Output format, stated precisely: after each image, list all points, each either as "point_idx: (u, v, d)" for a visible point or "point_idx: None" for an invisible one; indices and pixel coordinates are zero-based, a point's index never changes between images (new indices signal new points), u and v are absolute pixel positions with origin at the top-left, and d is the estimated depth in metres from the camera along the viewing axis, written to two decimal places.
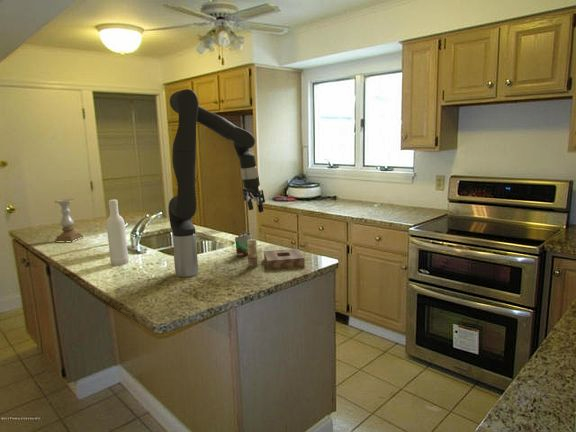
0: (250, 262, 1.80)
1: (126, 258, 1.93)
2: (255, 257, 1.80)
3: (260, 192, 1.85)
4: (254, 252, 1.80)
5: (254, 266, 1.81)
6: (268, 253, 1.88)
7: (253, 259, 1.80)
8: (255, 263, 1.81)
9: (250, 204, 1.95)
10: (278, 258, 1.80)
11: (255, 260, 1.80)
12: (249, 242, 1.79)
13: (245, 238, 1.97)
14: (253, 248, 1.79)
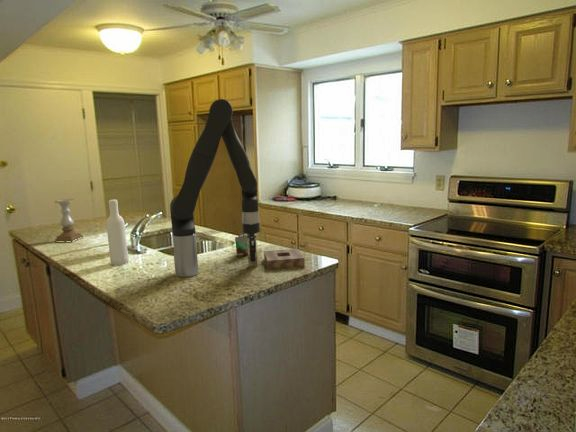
0: (250, 262, 1.80)
1: (126, 258, 1.93)
2: (255, 257, 1.80)
3: (252, 243, 1.74)
4: None
5: (254, 266, 1.81)
6: (268, 253, 1.88)
7: None
8: (255, 263, 1.81)
9: None
10: (278, 258, 1.80)
11: None
12: None
13: (245, 238, 1.97)
14: (253, 248, 1.79)
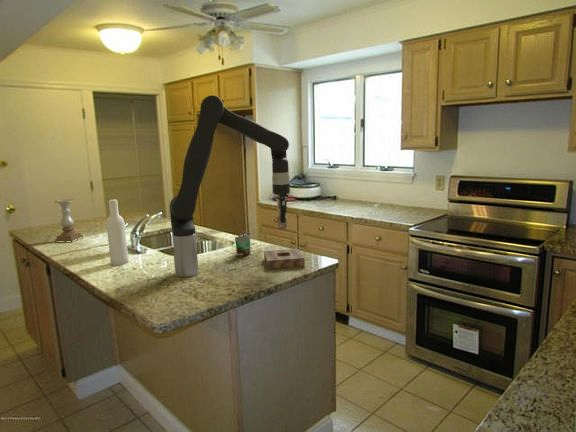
0: (280, 223, 1.81)
1: (126, 258, 1.93)
2: None
3: (283, 203, 1.75)
4: None
5: (284, 227, 1.82)
6: (268, 253, 1.88)
7: None
8: (285, 224, 1.82)
9: None
10: (278, 258, 1.80)
11: None
12: None
13: (245, 238, 1.97)
14: (283, 209, 1.80)
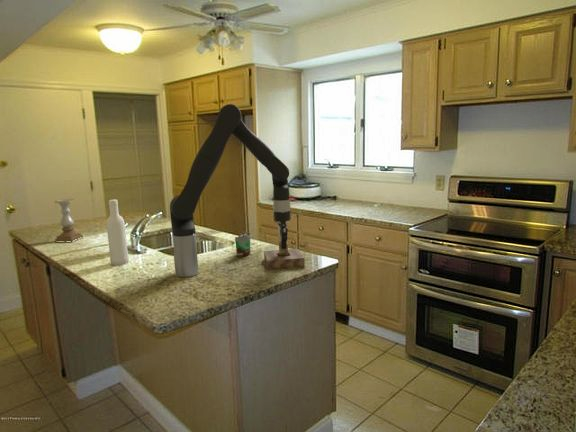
0: (281, 250, 1.84)
1: (126, 258, 1.93)
2: None
3: (284, 230, 1.77)
4: None
5: (285, 253, 1.84)
6: (268, 253, 1.88)
7: None
8: (286, 251, 1.84)
9: None
10: (278, 258, 1.80)
11: (286, 248, 1.84)
12: None
13: (245, 238, 1.97)
14: (284, 236, 1.82)
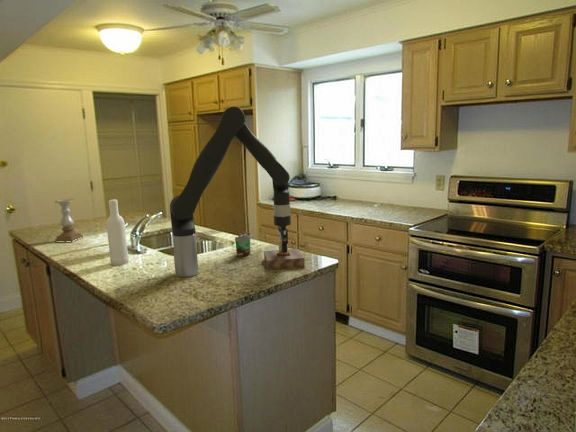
0: None
1: (126, 258, 1.93)
2: (286, 253, 1.84)
3: (284, 232, 1.77)
4: None
5: None
6: (268, 253, 1.88)
7: (285, 255, 1.84)
8: None
9: None
10: (278, 258, 1.80)
11: None
12: None
13: (245, 238, 1.97)
14: None
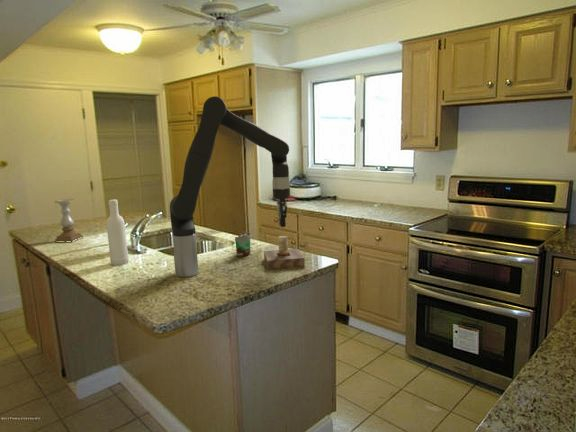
0: None
1: (126, 258, 1.93)
2: (286, 253, 1.84)
3: (283, 208, 1.75)
4: (285, 249, 1.84)
5: None
6: (268, 253, 1.88)
7: (285, 255, 1.84)
8: None
9: None
10: (278, 258, 1.80)
11: None
12: (281, 239, 1.83)
13: (245, 238, 1.97)
14: (284, 245, 1.83)
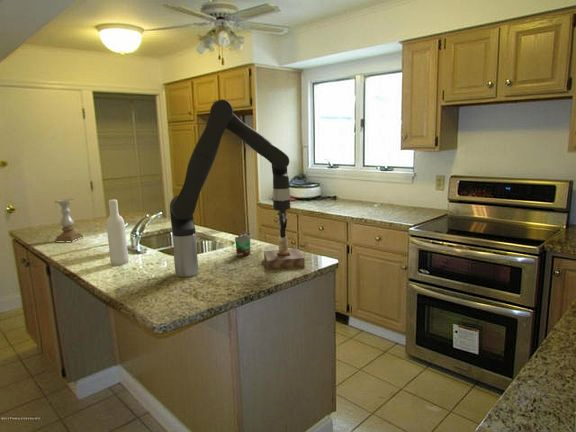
0: None
1: (126, 258, 1.93)
2: (286, 253, 1.84)
3: (283, 221, 1.77)
4: (285, 248, 1.84)
5: None
6: (268, 253, 1.88)
7: (285, 255, 1.84)
8: None
9: None
10: (278, 258, 1.80)
11: None
12: (280, 239, 1.83)
13: (245, 238, 1.97)
14: (284, 245, 1.83)
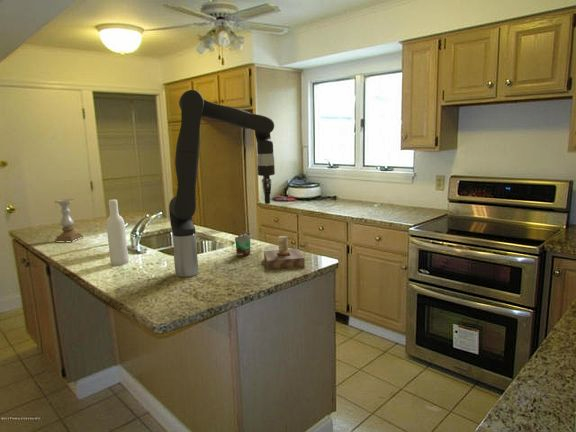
0: None
1: (126, 258, 1.93)
2: (286, 253, 1.84)
3: (267, 186, 1.76)
4: (285, 249, 1.84)
5: None
6: (268, 253, 1.88)
7: (285, 255, 1.84)
8: None
9: None
10: (278, 258, 1.80)
11: None
12: (281, 239, 1.83)
13: (245, 238, 1.97)
14: (284, 245, 1.83)
